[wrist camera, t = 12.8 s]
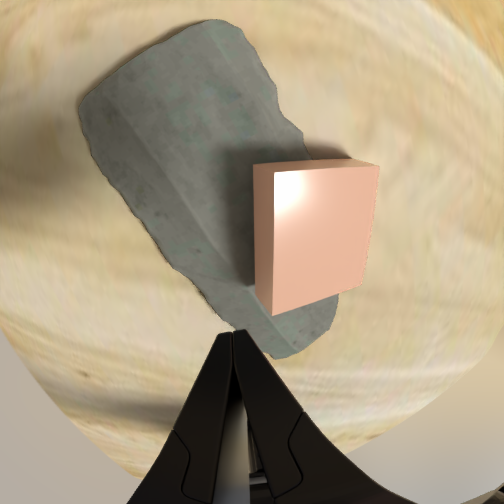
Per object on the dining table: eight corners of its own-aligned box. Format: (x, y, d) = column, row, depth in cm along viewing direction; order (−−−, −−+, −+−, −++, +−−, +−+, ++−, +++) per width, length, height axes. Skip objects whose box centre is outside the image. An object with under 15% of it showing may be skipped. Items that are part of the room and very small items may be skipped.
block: (253, 164, 12) (353, 158, 15) (255, 294, 16) (340, 269, 18) (274, 172, 11) (379, 166, 13) (272, 316, 14) (361, 284, 16)
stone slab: (222, 18, 11) (67, 120, 12) (231, 0, 9) (47, 122, 10) (363, 294, 23) (262, 358, 23) (381, 313, 20) (271, 382, 21)
